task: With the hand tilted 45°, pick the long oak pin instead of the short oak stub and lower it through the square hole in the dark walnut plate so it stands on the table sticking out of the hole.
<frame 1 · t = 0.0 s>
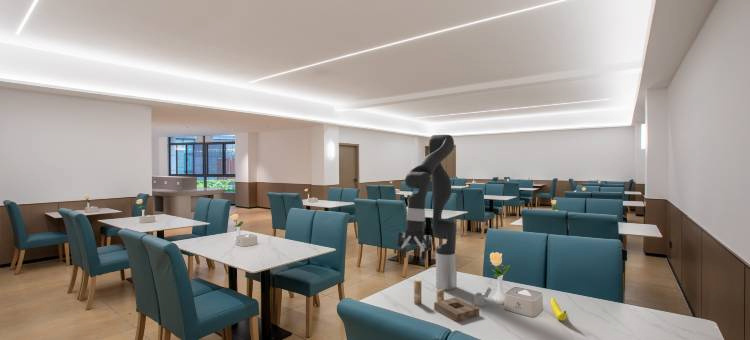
hand: (413, 259, 154), 22 cm above the table, tool pointing down, fingers open, 8 cm apart
lighter: (482, 305, 162), on the table
hole plate: (456, 312, 155), on the table
banana: (558, 318, 149), on the table
short pin: (440, 300, 168), on the table
long pin: (417, 303, 165), on the table
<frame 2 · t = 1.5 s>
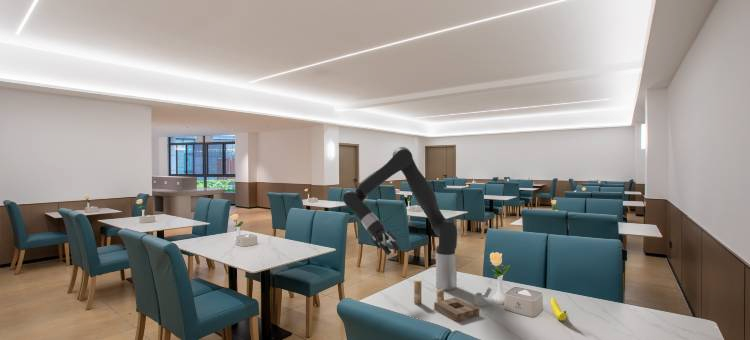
hand: (394, 251, 170), 21 cm above the table, tool tilted 45°, fingers open, 8 cm apart
nothing on the table moved.
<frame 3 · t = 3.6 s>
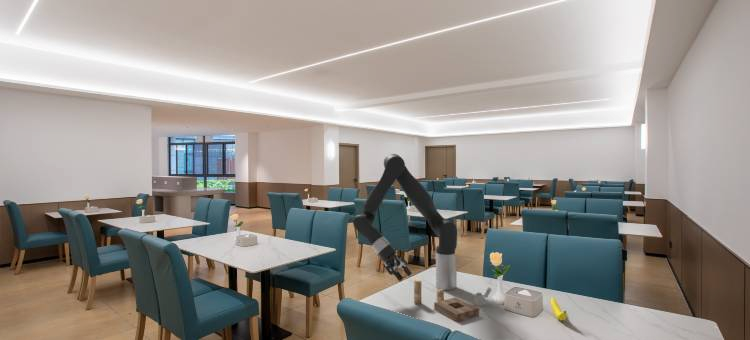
hand: (406, 277, 167), 11 cm above the table, tool tilted 45°, fingers open, 8 cm apart
nothing on the table moved.
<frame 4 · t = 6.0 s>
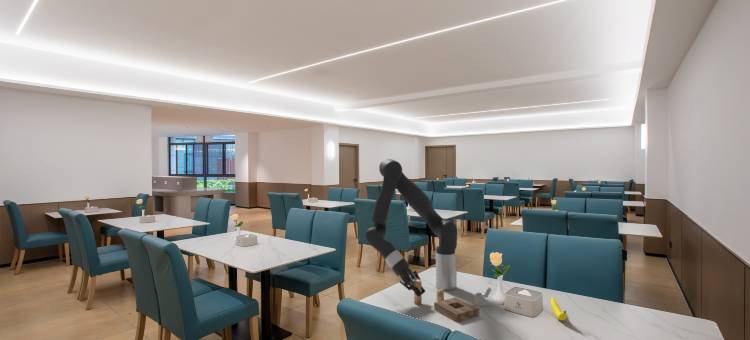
hand: (422, 294, 164), 4 cm above the table, tool tilted 45°, fingers closed on long pin, 3 cm apart
long pin: (417, 303, 165), on the table, touching gripper
everything else where it was.
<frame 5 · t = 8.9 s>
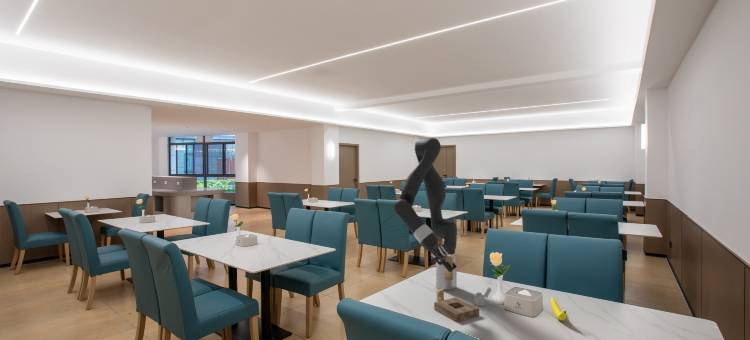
hand: (453, 269, 155), 18 cm above the table, tool tilted 45°, fingers closed on long pin, 3 cm apart
long pin: (448, 279, 156), point 13 cm above the table, touching gripper
everything else where it was.
when the fingers open (7 cm above the table, at t = 11.6 s): long pin drops 2 cm, resting in hole plate.
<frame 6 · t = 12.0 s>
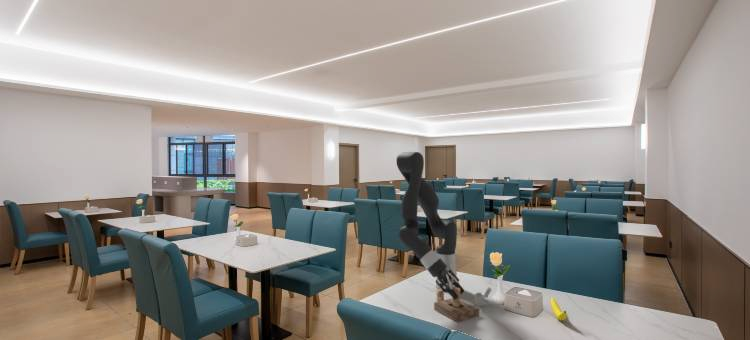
hand: (459, 295, 154), 7 cm above the table, tool tilted 45°, fingers open, 7 cm apart
long pin: (456, 312, 155), resting in hole plate
everything else where it was.
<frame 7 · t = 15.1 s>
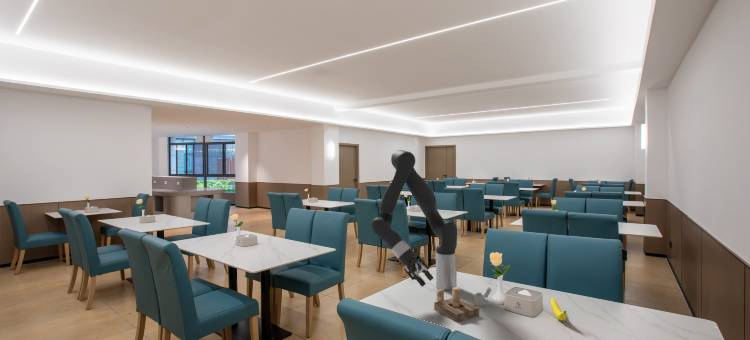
hand: (428, 282, 161), 10 cm above the table, tool tilted 45°, fingers open, 8 cm apart
nothing on the table moved.
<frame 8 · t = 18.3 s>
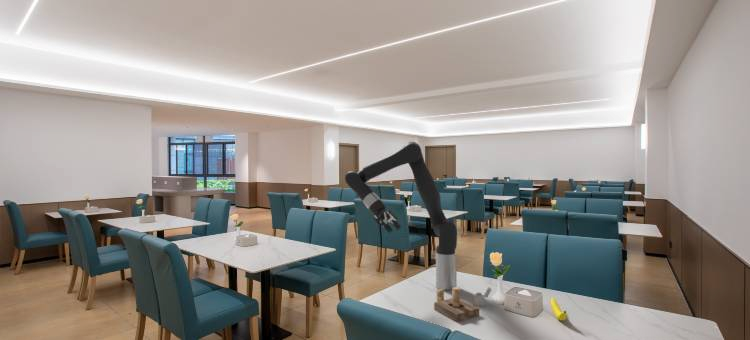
hand: (395, 230, 173), 31 cm above the table, tool tilted 45°, fingers open, 8 cm apart
nothing on the table moved.
at the end: long pin 0.1 cm off-centre on the hole plate, point 0.0 cm above the hole plate's base; long pin tilted 0°; short pin moved 0.0 cm from its start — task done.
